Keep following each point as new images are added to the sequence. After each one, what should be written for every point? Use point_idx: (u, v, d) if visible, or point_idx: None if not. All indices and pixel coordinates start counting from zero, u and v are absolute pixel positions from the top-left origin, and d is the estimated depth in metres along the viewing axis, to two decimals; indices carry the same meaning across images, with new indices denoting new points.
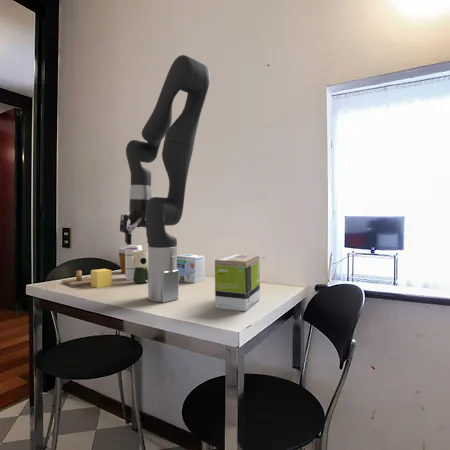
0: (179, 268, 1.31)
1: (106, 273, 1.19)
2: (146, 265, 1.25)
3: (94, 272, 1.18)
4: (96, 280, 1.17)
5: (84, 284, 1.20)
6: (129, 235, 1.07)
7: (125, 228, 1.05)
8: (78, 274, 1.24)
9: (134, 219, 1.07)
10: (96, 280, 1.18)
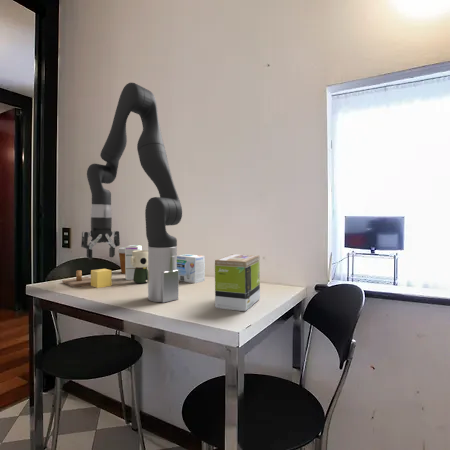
0: (179, 268, 1.31)
1: (106, 273, 1.19)
2: (146, 265, 1.25)
3: (94, 272, 1.18)
4: (96, 280, 1.17)
5: (84, 284, 1.20)
6: (90, 250, 1.17)
7: (85, 244, 1.15)
8: (78, 274, 1.24)
9: (95, 235, 1.18)
10: (96, 280, 1.18)
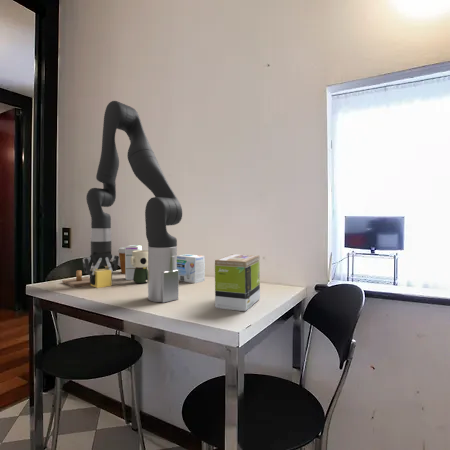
0: (179, 268, 1.31)
1: (106, 273, 1.19)
2: (146, 265, 1.25)
3: None
4: (96, 280, 1.17)
5: (84, 284, 1.20)
6: (93, 276, 1.18)
7: (88, 270, 1.16)
8: (78, 274, 1.24)
9: (95, 260, 1.18)
10: (96, 280, 1.18)
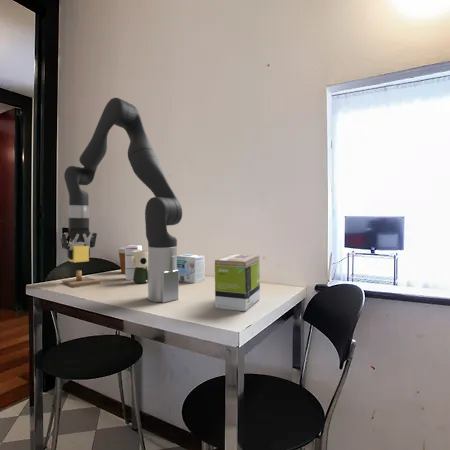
0: (179, 268, 1.31)
1: (83, 249, 1.24)
2: (146, 265, 1.25)
3: None
4: (73, 255, 1.22)
5: (84, 284, 1.20)
6: (71, 251, 1.22)
7: (65, 245, 1.20)
8: (78, 274, 1.24)
9: (72, 236, 1.22)
10: (73, 255, 1.22)
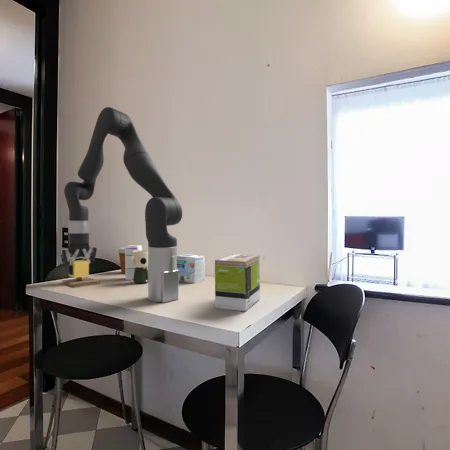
0: (179, 268, 1.31)
1: (83, 264, 1.24)
2: (146, 265, 1.25)
3: None
4: (73, 270, 1.22)
5: (84, 284, 1.20)
6: (71, 266, 1.22)
7: (65, 260, 1.20)
8: None
9: (72, 252, 1.22)
10: (73, 271, 1.22)
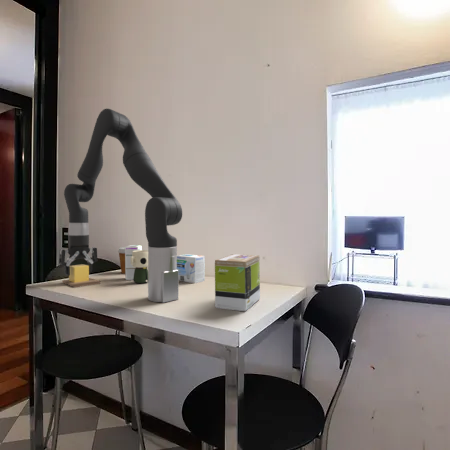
0: (179, 268, 1.31)
1: (83, 268, 1.24)
2: (146, 265, 1.25)
3: (71, 267, 1.23)
4: (73, 275, 1.22)
5: (84, 284, 1.20)
6: (67, 267, 1.21)
7: (63, 261, 1.20)
8: None
9: (72, 253, 1.22)
10: (73, 275, 1.22)
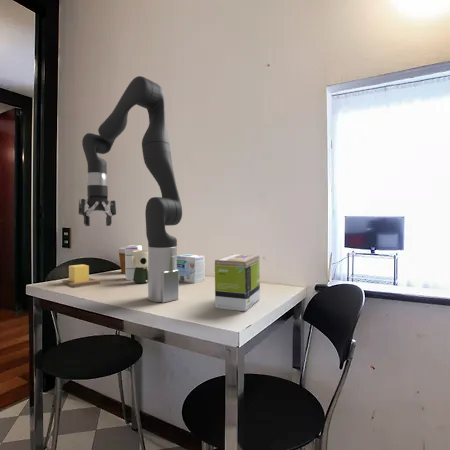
0: (179, 268, 1.31)
1: (83, 268, 1.24)
2: (146, 265, 1.25)
3: (71, 267, 1.23)
4: (73, 275, 1.22)
5: (84, 284, 1.20)
6: (87, 217, 1.19)
7: (83, 210, 1.18)
8: None
9: (91, 203, 1.20)
10: (73, 275, 1.22)
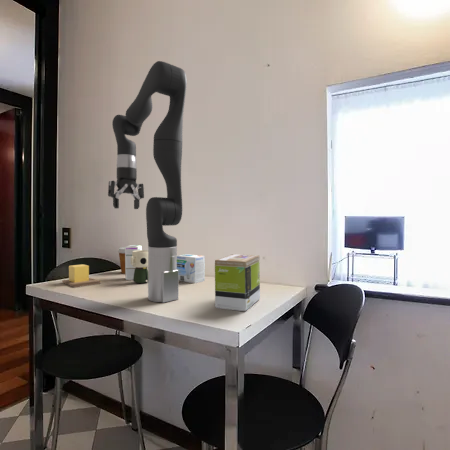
0: (179, 268, 1.31)
1: (83, 268, 1.24)
2: (146, 265, 1.25)
3: (71, 267, 1.23)
4: (73, 275, 1.22)
5: (84, 284, 1.20)
6: (116, 199, 1.19)
7: (112, 192, 1.17)
8: None
9: (121, 185, 1.20)
10: (73, 275, 1.22)
